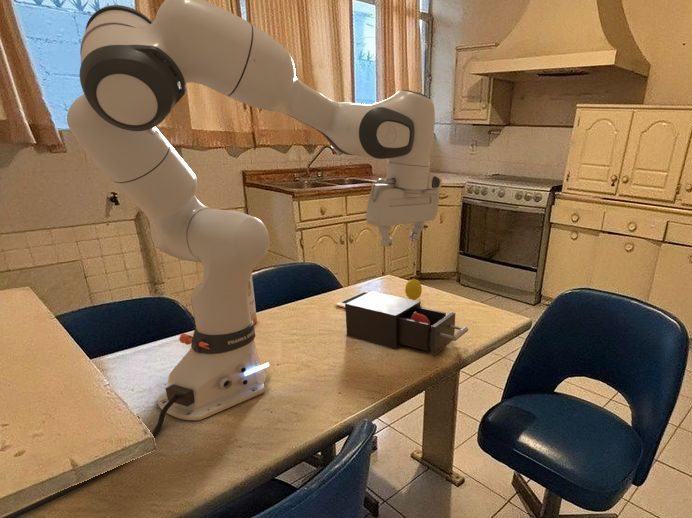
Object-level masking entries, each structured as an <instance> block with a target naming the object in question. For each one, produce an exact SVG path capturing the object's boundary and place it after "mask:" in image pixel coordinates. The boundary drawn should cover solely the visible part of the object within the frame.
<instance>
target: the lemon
mask: <svg viewBox="0 0 692 518" xmlns="http://www.w3.org/2000/svg"><path fill="white" fill-rule="evenodd" d="M405 284H406V285H405V288H404V289H405V290H404V292H405V295H406V297H407V299H411V300H416V301H417V300H418V299H419V298H420V297H421V295H422V292H423V289H422V284H421V282H420V281H419V280H417V279H416V278H414V277H413V278H412V279H409V280H408V281H407V282H406V283H405Z"/></svg>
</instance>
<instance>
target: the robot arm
mask: <svg viewBox="0 0 692 518" xmlns="http://www.w3.org/2000/svg"><path fill="white" fill-rule="evenodd" d="M79 49H80V50H79V53H80V68H79V83H80V86H81V89H82V93H83V94H81V95H80V96H78V97H76V99H75V100H74V101H73V102H72V103H71V105H70V107H69V108H68V111H67V114H66V122H67V126H68V129H69V130H70V133H71V134H72V135H73V136H74V138H75V139H76V141H77V142H78V144H79V145H80V147H82V149H83V150H84V152H85V153H86V154H87V156H89V158H90V160H92V162H94V164H95V165H96V166H97V167H98V168H99V169H100V170H101V172H103V173H104V174H105V175H106V176H107V178H108V179H110V180H111V181H112V182H113V183H114V184H115V185H116V186H117V187H118V188H119V189H120V190H121V191H122V192H123V193H124V194H125V195H126V196H127V197H128V198H129V200H131V201H132V202H133V203H134V204H135V205H136V206H137V208H139V209H140V210H141V212H142V213H143V214H144V215H145V216H146V218H147V219H148V221H149V222H150V230H149V231H150V232H149V233H150V237H151V240H152V242H153V244H154V246H155V247H156V248H157V249H158V250H159V251H161V252H162V253H164V254H166V255H169V256H170V257H173V258H176V259H179V260H181V261H188V262H195V263H201V264H202V266H203V279H202V281H201V282H200V283H199V284H198V285H196V286H195V287H194V289H192V291H191V293H190V303H191V308H192V313H193V318H194V324H195V328H194V330H193V334H192V335H190V334H188V333H182V334H180V335H179V337H178V340H179V342H180V343H181V344H185V345H187V346H188V345H190V346H191V348H190V349H189V350H188V351H187V352H186V354H185V355H184V356H183V357H182V358H181V360H179V362H178V363H177V364H176V365H175V366H174V368H173V369H172V370H171V371H170V373H169V375H168V378H167V387H165V392H164V393H162V394H161V395H159V396H158V398H157V404H158V407H159V408H160V410H161V411H160V413H159V416H158V420H157V423H156V426H155V427H154V429H153V431H152V433H151V434H153V436H154V439H155V438H156V437H157V435H158V434H159V433H160V430H161V428H162V427H163V425H164V421H165V416H166V414H167V415H169V416H171V417H174V418H177V419H180V420H185V421H202V420H204V419H206V418H208V417H210V416H213V415H215V414H218V413H220V412H223V411H224V410H227V409H230V408H231V407H234V406H236V405H239V404H240V403H243V402H246V401H247V400H250V399H252V398H255V397H257V396H260V395H261V394H264V393H265V391H266V389H265V388H266V387H265V382H266V381H267V374H266V372H265V370H264V369H266V368H268V367H270V363H269V362H266V363H263V364H262V363H261V360H260V357H259V354H258V350H257V347H256V341H255V338H256V331H255V325H254V324H253V321H252V320H251V316H250V308H249V297H248V285H249V280H250V276H251V274H252V275H253V271H254V269H255V268H256V267H257V266H258V265H259V264H261V262H262V261H264V259H265V257H266V256H267V254H268V251H269V248H270V233H269V230H268V229H267V227H266V224H265V223H264V222H263V221H262V220H261V219H259V218H257V217H256V216H253V215H249V214H247V213H245V212H241V211H238V210H229V209H218V208H217V209H216V208H212V207H211V208H210V207H208V206H207V205H205V204H203V203H202V202H200V200H199V199H198V198H197V196H196V195H197V191H198V178H197V175H196V173H195V172H194V171H193V170H192V168H191V167H190V166H189V165H188V164H187V162H186V161H185V160H184V159H183V157H182V156H181V155H180V154H179V153H178V152H177V150H176V149H175V148H174V147H173V145H172V144H171V143H170V142H169V140H168V139H167V138H166V137H165V136H164V134H162V132H161V131H160V130H159V128H158V127H157V126H159V125H160V124H161V123H163V121H165V119H166V118H167V117H168V116H169V114H170V113H171V111H172V110H173V108H174V107H175V106H176V105H177V104H178V103H179V101H181V99H182V98H183V97H185V95H186V94H187V85H186V84H189V83H195V84H198V85H202V86H204V87H207V88H208V89H211V90H213V91H216V92H218V93H219V94H222V95H224V96H225V97H228V98H230V99H232V100H234V101H236V102H240V103H241V104H245V105H248V106H250V107H253V108H255V109H259V110H264V111H267V112H277V113H282V114H284V115H287V116H289V117H291V118H292V119H295V120H297V121H298V122H301V123H303V124H304V125H306V126H308V127H310V128H312V129H314V130H316V131H318V132H319V133H320V134H321V135H322V136H323V137H324V138H325V139H326V140H327V141H328V142H329V144H330V145H331V146H332V147H333V148H334V149H335V150H336V151H337V152H339V153H340V154H342V155H347V156H357V157H362V158H365V159H371V160H376V161H379V160H386V159H387V160H386V161H387V163H386V172H385V173H386V175H385V178H382V177H381V178H377V180H376V181H375V182H374V183H373V184H372V185H371V191H370V192H369V196H368V199H367V200H368V201H367V207H366V211H365V212H366V213H365V220H366V223H367V224H368V225H370V226H372V227H377V228H378V232H379V234H380V237H381V242H380V243H381V244H380V245H381V246H383V247H391V246H392V245H393V240H394V239H393V237H391V236H390V231H391V230H392V226H398V225H406V224H413V228H412V231H410V232H409V237H408V240H409V241H410V242H413V243H414V242H419V241H420V236H421V233H422V231H423V229H424V227H425V222H430V221H434V220H435V219H436V217H437V215H438V212H439V211H438V210H439V205H440V204H439V203H440V191H439V189H441V188H442V184H443V180H442V178H441V177H440V176H438V175H436V174H435V173H433V172H432V171H430V170H431V159H430V155H431V153H430V152H431V149H432V147H433V143H434V135H435V134H434V133H435V124H436V123H435V122H436V121H435V119H436V117H435V116H436V115H435V114H436V113H435V106H434V102H433V101H432V100H431V98H430V97H428V96H427V95H426V94H423V93H420V92H418V91H413V90H410V89H400V90H398V91H397V92H396V93H395V94H393V95H392V96H390V97H389V98H387V99H384V100H382V101H379V102H374V103H373V104H365V103H364V104H363V103H362V104H361V103H356V102H348V101H334V100H332V99H331V98H329V97H327V96H326V95H324V94H322V93H321V92H318V91H317V90H315V89H314V88H312V87H311V86H309V85H307V84H306V83H304V82H302V81H301V80H299V78H298V77H297V76H296V68H295V63H294V60H293V58H292V55H291V54H290V51H289V50H287V49H286V48H285V46H283V44H281V43H279V42H278V41H277V40H276V39H275V38H274V37H272V36H271V35H270V34H268V33H267V32H265V31H264V30H262V29H261V28H260V27H257V26H256V25H254V24H253V23H251V22H249V21H247V20H246V19H245V18H242V17H240V16H239V15H237V14H235V13H233V12H231V11H230V10H227V9H225V8H223V7H221V6H218V5H216V4H214V3H211V2H209V1H206V0H164V1H163V2H162V3H161V5H160V6H159V8H158V9H157V13H156V14H155V18H154V20H151V19H150V18H149V17H148V16H147V15H145V14H144V13H142V12H140V11H139V10H138V9H135V8H133V7H130V6H127V5H122V4H121V5H120V4H111V5H107V6H103V7H101V8H99V9H98V10H96V11H95V12H94V13H93V14H92V15H91V16H90V17H89V19H88V20H87V23H86V26H85V31H84V33H83V36H82V39H81V44H80V48H79ZM119 467H120V466H118V467H116V468H114V469H112V470H110V471H107V472H105V473H103V474H100V475H98V476H95V477H93V478H91V479H89V480H87V481H84V482H82V483H79V484H77V485H74V486H71V485H70V486H71V487H69V486H68V487H69V488H67V487H66V488H67V489H65V488H63V489H64V490H63V489H61V490H62V491H61V490H59V491H60V492H59V491H56V492H57V493H56V492H54V493H55V494H54V493H52V494H53V495H52V494H50V495H48V496H46V497H44V498H41V499H40V500H37V501H35V502H33V503H31V504H29V505H27V506H25V507H22V508H20V509H18V510H16V511H14V512H11V513H9V514H7V515H5V516H2V517H1V518H18V517H21V516H24V515H26V514H28V513H31V512H32V511H34V510H36V509H38V508H40V507H42V506H45V505H47V504H49V503H51V502H53V501H56V500H57V499H60V498H61V497H63V496H65V495H68V494H69V493H72V492H73V491H76V490H78V489H80V488H82V487H85V485H88V484H89V483H91V482H93V481H95V480H97V479H99V478H101V477H102V476H104V475H106V474H109V473H110V472H112V471H114V470H116V469H117V468H119Z"/></svg>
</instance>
